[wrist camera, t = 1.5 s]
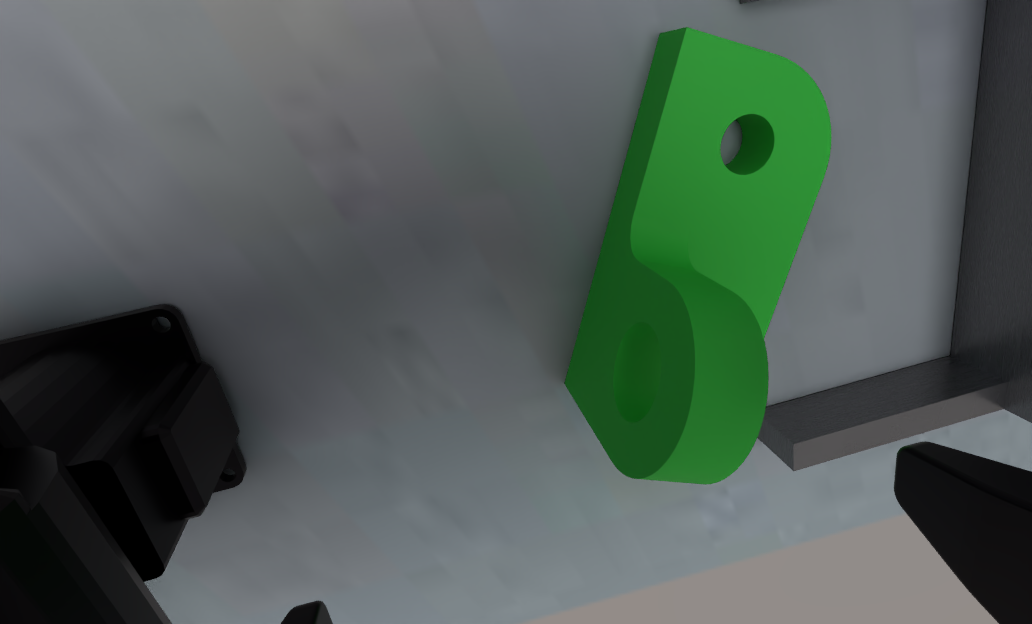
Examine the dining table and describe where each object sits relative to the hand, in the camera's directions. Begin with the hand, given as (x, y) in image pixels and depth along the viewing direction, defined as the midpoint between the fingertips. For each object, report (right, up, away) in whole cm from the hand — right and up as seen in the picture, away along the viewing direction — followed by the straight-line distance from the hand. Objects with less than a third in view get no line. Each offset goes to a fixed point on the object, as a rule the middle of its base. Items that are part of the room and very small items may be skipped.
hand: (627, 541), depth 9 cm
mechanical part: (+4, +6, +12) cm, 14 cm away
